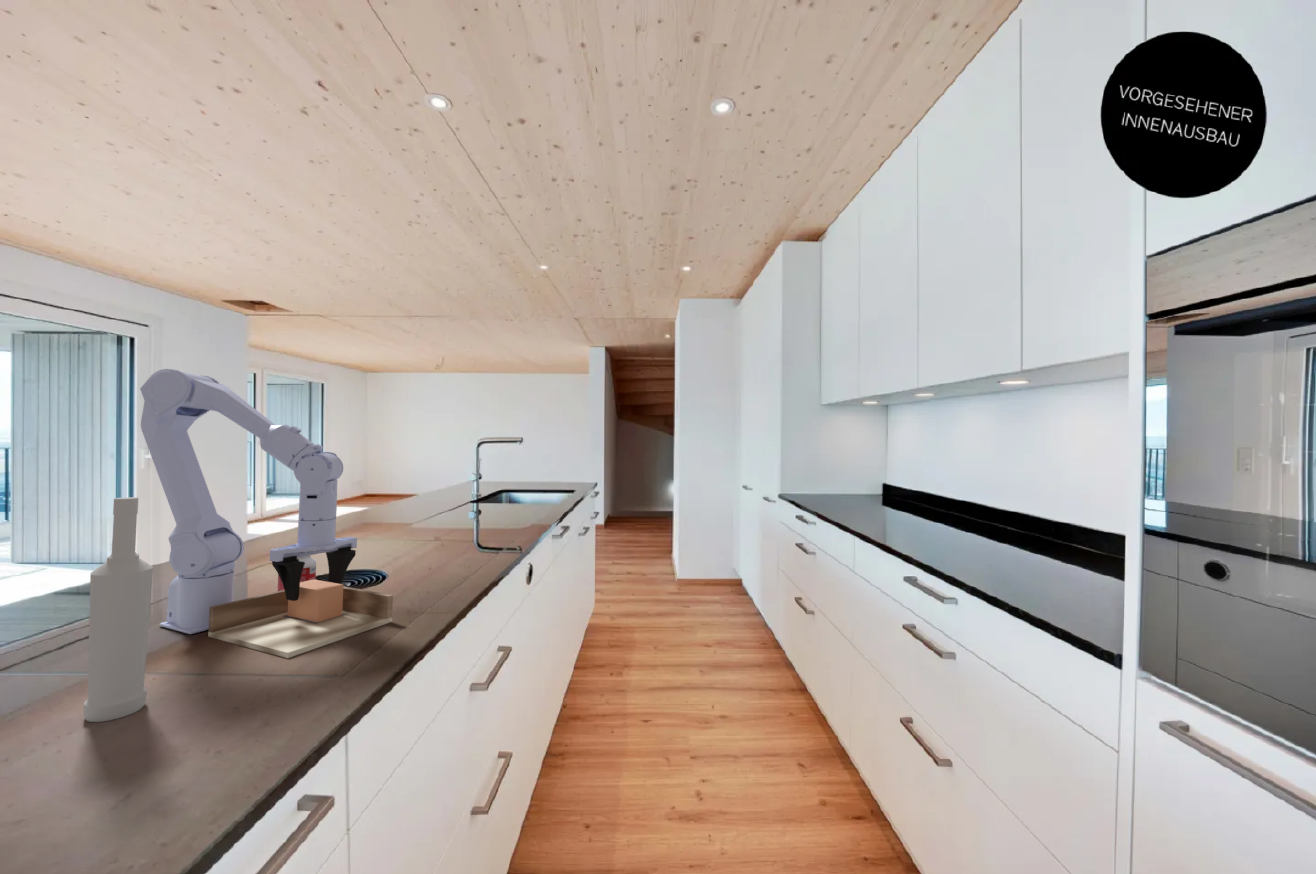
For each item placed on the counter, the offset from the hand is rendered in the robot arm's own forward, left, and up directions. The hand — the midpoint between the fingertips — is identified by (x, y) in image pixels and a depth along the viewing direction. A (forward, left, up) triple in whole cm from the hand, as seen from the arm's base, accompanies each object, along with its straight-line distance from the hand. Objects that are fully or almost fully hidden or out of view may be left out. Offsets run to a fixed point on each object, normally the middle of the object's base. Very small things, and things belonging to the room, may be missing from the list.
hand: (314, 594), depth 93 cm
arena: (+3, -3, -5) cm, 7 cm away
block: (0, 0, -4) cm, 4 cm away
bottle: (+11, -30, -5) cm, 33 cm away
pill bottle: (-12, +5, -5) cm, 14 cm away
